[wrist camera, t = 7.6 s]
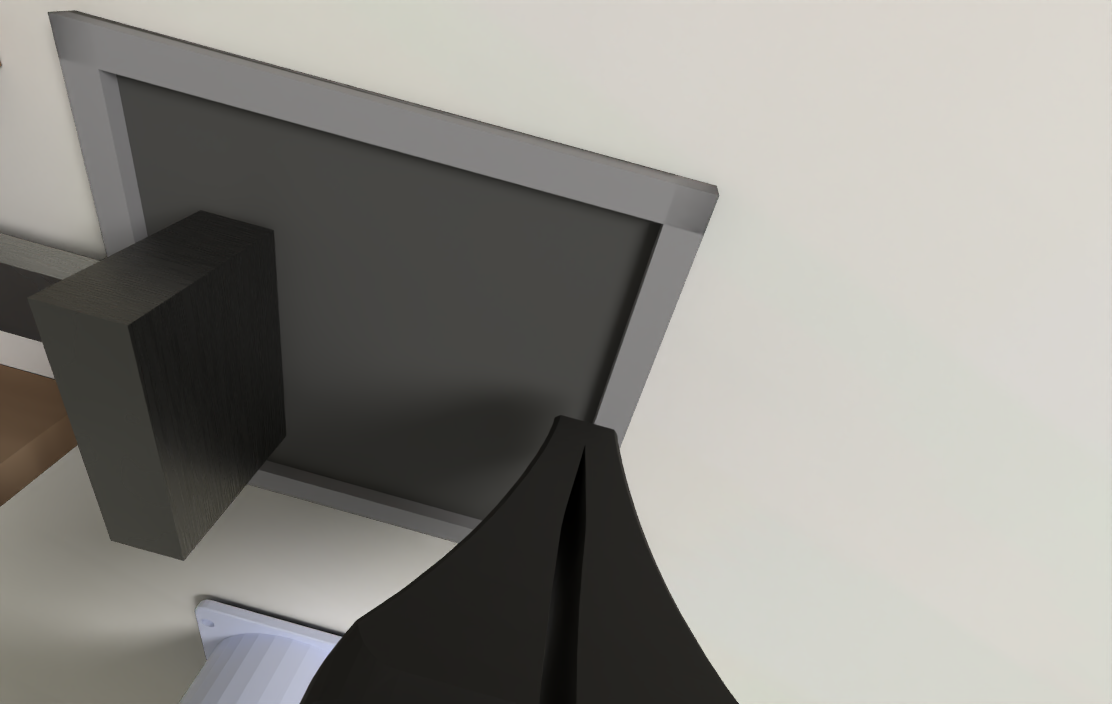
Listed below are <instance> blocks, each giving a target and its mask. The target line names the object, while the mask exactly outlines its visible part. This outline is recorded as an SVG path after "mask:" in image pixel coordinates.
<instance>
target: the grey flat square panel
mask: <svg viewBox="0 0 1112 704" xmlns="http://www.w3.org/2000/svg"><path fill="white" fill-rule="evenodd" d="M48 15H49V19H50V23H51V28H52V32H53V36H54V40H55V44H56V48H57V52H58V56H59V60H60V64H61V69H62V73H63V77H64V81H65V85H66V89H67V93H68V97H69V101H70V106H71V110H72V114H73V118H74V122H75V126H76V130H77V134H78V138H79V142H80V147H81V151H82V155H83V159H84V163H85V167H86V171H87V175H88V179H89V184H90V188H91V192H92V196H93V200H94V204H95V208H96V212H97V216H98V221H99V225H100V229H101V233H102V237H103V241H104V245H105V249H106V253H107V257H109V256H111V255H113V254H115V253H117V252H119V251H121V250H123V249H125V248H126V247H128V246H130V245H132V244H134V243H136V242H138V241H140V240H142V239H144V238H146V237H148V236H150V235H152V234H154V233H156V232H158V231H160V230H162V229H164V228H166V227H168V226H170V225H172V224H174V223H176V222H178V221H180V220H182V219H184V218H186V217H188V216H190V215H192V214H194V213H196V212H198V211H200V210H203V211H206V212H210V213H213V214H217V215H221V216H224V217H228V218H232V219H235V220H239V221H242V222H246V223H250V224H253V225H257V226H261V227H264V228H268V229H271V230H274V239H275V256H276V272H277V288H278V305H279V321H280V338H281V354H282V370H283V387H284V403H285V419H286V437H285V438H284V439H283V441H282V442H281V443H280V444H279V446H278V447H277V448H276V449H275V450H274V452H273V453H272V454H271V455H270V456H269V458H268V459H267V460H266V461H265V463H264V464H263V465H262V466H261V467H260V469H259V470H258V471H257V472H256V474H255V475H254V476H253V477H252V478H251V480H250V481H249V482H248V483H247V484H248V485H252V486H256V487H259V488H263V489H266V490H270V491H273V492H277V493H281V494H284V495H288V496H291V497H295V498H299V499H302V500H306V501H309V502H313V503H316V504H320V505H324V506H327V507H331V508H334V509H338V510H342V511H345V512H349V513H352V514H356V515H359V516H363V517H367V518H370V519H374V520H377V521H381V522H385V523H388V524H392V525H395V526H399V527H402V528H406V529H410V530H413V531H417V532H420V533H424V534H428V535H431V536H435V537H438V538H442V539H445V540H449V541H453V542H456V543H460V542H461V541H462V540H463V539H464V538H465V537H466V536H467V535H468V534H469V533H470V532H471V531H473V530H474V529H475V528H476V527H477V526H478V524H479V523H480V522H481V521H482V520H483V519H484V518H485V517H486V516H487V515H488V514H489V513H490V512H491V511H492V510H493V509H494V508H495V507H496V506H497V504H498V503H499V502H500V501H501V500H502V499H503V497H504V496H505V495H506V494H507V493H508V491H509V490H510V489H511V488H512V487H513V485H514V484H515V483H516V482H517V481H518V479H519V478H520V477H521V475H522V474H523V473H524V471H525V470H526V468H527V467H528V466H529V464H530V463H531V461H532V460H533V458H534V457H535V456H536V454H537V453H538V451H539V449H540V448H541V446H542V444H543V443H544V441H545V439H546V437H547V436H548V434H549V431H550V429H551V427H552V425H553V422H554V418H555V417H557V416H559V415H563V416H567V417H570V418H574V419H578V420H581V421H585V422H589V423H592V424H596V425H600V426H603V427H607V428H611V429H614V430H615V432H616V433H617V436H618V444H619V449H620V446H621V444H622V441H623V439H624V436H625V434H626V431H627V429H628V426H629V423H630V421H631V418H632V416H633V413H634V411H635V408H636V406H637V403H638V401H639V398H640V396H641V393H642V390H643V388H644V385H645V383H646V380H647V378H648V375H649V373H650V370H651V368H652V365H653V362H654V360H655V357H656V355H657V352H658V350H659V347H660V345H661V342H662V340H663V337H664V335H665V332H666V329H667V327H668V324H669V322H670V319H671V317H672V314H673V312H674V309H675V307H676V304H677V302H678V299H679V296H680V294H681V291H682V289H683V286H684V284H685V281H686V279H687V276H688V274H689V271H690V269H691V266H692V263H693V261H694V258H695V256H696V253H697V251H698V248H699V246H700V243H701V241H702V238H703V236H704V233H705V230H706V228H707V225H708V223H709V220H710V218H711V215H712V213H713V210H714V208H715V205H716V203H717V200H718V197H719V193H718V189H717V186H715V185H711V184H708V183H704V182H700V181H697V180H693V179H689V178H686V177H682V176H678V175H675V174H671V173H667V172H664V171H660V170H656V169H653V168H649V167H645V166H642V165H638V164H634V163H631V162H627V161H623V160H620V159H616V158H612V157H609V156H605V155H601V154H598V153H594V152H591V151H587V150H583V149H580V148H576V147H572V146H569V145H565V144H561V143H558V142H554V141H550V140H547V139H543V138H539V137H536V136H532V135H528V134H525V133H521V132H517V131H514V130H510V129H506V128H503V127H499V126H495V125H492V124H488V123H484V122H481V121H477V120H473V119H470V118H466V117H463V116H459V115H455V114H452V113H448V112H444V111H441V110H437V109H433V108H430V107H426V106H422V105H419V104H415V103H411V102H408V101H404V100H400V99H397V98H393V97H389V96H386V95H382V94H378V93H375V92H371V91H367V90H364V89H360V88H356V87H353V86H349V85H346V84H342V83H338V82H335V81H331V80H327V79H324V78H320V77H316V76H313V75H309V74H305V73H302V72H298V71H294V70H291V69H287V68H283V67H280V66H276V65H272V64H269V63H265V62H261V61H258V60H254V59H250V58H247V57H243V56H239V55H236V54H232V53H228V52H225V51H221V50H218V49H214V48H210V47H207V46H203V45H199V44H196V43H192V42H188V41H185V40H181V39H177V38H174V37H170V36H166V35H163V34H159V33H155V32H152V31H148V30H144V29H141V28H137V27H133V26H130V25H126V24H122V23H119V22H115V21H111V20H108V19H104V18H101V17H97V16H93V15H90V14H86V13H82V12H79V11H75V10H74V11H57V12H48Z"/></svg>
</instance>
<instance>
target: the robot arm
mask: <svg viewBox="0 0 1112 704" xmlns="http://www.w3.org/2000/svg"><path fill="white" fill-rule="evenodd" d="M195 614H196V618H197V622H198V626H199V631H200V635H201V639H202V643H203V647H204V651H205V655H206V660H207V661H206V663H205V664H204V666H203V667H202V669H201V670H200V672H199V673H198V675H197V676H196V678H195V679H194V681H193V682H192V684H191V685H190V687H189V688H188V690H187V691H186V693H185V694H184V696H183V697H182V699H181V700H180V702H179V703H178V704H739V703H738V702H737V701H736V699H735V698H734V697H733V695H732V694H731V693H730V691H729V690H728V689H727V687H726V686H725V684H724V683H723V681H722V680H721V678H720V677H719V675H718V674H717V672H716V671H715V669H714V668H713V666H712V665H711V663H710V662H709V660H708V659H707V657H706V655H705V654H704V652H703V650H702V649H701V647H700V645H699V644H698V642H697V640H696V638H695V637H694V635H693V633H692V632H691V630H690V628H689V627H688V625H687V623H686V622H685V620H684V618H683V616H682V615H681V613H680V611H679V609H678V607H677V605H676V604H675V602H674V600H673V598H672V596H671V594H670V592H669V590H668V588H667V586H666V584H665V582H664V580H663V577H662V575H661V573H660V571H659V569H658V567H657V565H656V562H655V560H654V558H653V555H652V553H651V550H650V548H649V546H648V543H647V540H646V538H645V535H644V533H643V530H642V527H641V524H640V522H639V519H638V516H637V513H636V510H635V507H634V503H633V500H632V497H631V494H630V491H629V487H628V484H627V480H626V476H625V472H624V468H623V464H622V459H621V455H620V450H619V444H618V436H617V433H616V432H615V430H614V429H611V428H607V427H603V426H600V425H596V424H592V423H589V422H585V421H581V420H578V419H574V418H570V417H567V416H563V415H559V416H557V417H555V418H554V422H553V425H552V427H551V429H550V431H549V434H548V436H547V437H546V439H545V441H544V443H543V444H542V446H541V448H540V449H539V451H538V453H537V454H536V456H535V457H534V458H533V460H532V461H531V463H530V464H529V466H528V467H527V468H526V470H525V471H524V473H523V474H522V475H521V477H520V478H519V479H518V481H517V482H516V483H515V484H514V485H513V487H512V488H511V489H510V490H509V491H508V493H507V494H506V495H505V496H504V497H503V499H502V500H501V501H500V502H499V503H498V504H497V506H496V507H495V508H494V509H493V510H492V511H491V512H490V513H489V514H488V515H487V516H486V517H485V518H484V519H483V520H482V521H481V522H480V523H479V524H478V526H477V527H476V528H475V529H474V530H473V531H471V532H470V533H469V534H468V535H467V536H466V537H465V538H464V539H463V540H462V541H461V542H460V543H459V544H457V545H456V546H455V547H454V548H453V549H452V550H451V551H450V552H449V553H447V554H446V555H445V556H444V557H443V558H442V559H440V560H439V561H438V562H437V563H436V564H434V565H433V566H432V567H430V568H429V569H428V570H427V571H425V572H424V573H423V574H421V575H420V576H419V577H418V578H416V579H415V580H414V581H413V582H411V583H410V584H409V585H407V586H406V587H405V588H403V589H402V590H401V591H399V592H398V593H396V594H395V595H393V596H392V597H391V598H389V599H388V600H386V601H385V602H383V603H382V604H380V605H379V606H377V607H376V608H374V609H373V610H371V611H370V612H368V613H367V614H365V615H364V616H362V617H361V618H359V619H358V620H356V621H355V623H354V624H353V625H352V626H351V627H350V628H349V630H348V631H347V632H346V633H345V634H344V636H343V637H341V636H337V635H334V634H330V633H327V632H323V631H320V630H316V629H313V628H309V627H305V626H302V625H298V624H295V623H291V622H288V621H284V620H281V619H277V618H273V617H270V616H266V615H263V614H259V613H256V612H252V611H248V610H245V609H241V608H238V607H234V606H231V605H227V604H224V603H220V602H216V601H213V600H202V601H201V602H200V603H199V604H198V606H197V607H196V608H195Z"/></svg>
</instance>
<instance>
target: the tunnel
mask: <svg viewBox="0 0 1112 704" xmlns="http://www.w3.org/2000/svg"><path fill="white" fill-rule="evenodd" d="M0 66H1V63H0ZM77 445H78V444H77V441H76V438H75V435H74V432H73V429H72V426H71V423H70V421H69V418H68V415H67V412H66V409H65V406H64V403H63V400H62V397H61V395H60V392H59V389H58V386H57V383H56V380H54V379H50V378H47V377H43V376H40V375H36V374H32V373H29V372H25V371H22V370H18V369H14V368H11V367H7V366H4V365H0V506H2V505H3V504H4V503H5V502H7V501H8V500H9V499H10V498H12V497H13V496H14V495H15V494H17V493H18V492H19V491H20V490H22V489H23V488H24V487H25V486H27V485H28V484H29V483H30V482H32V481H33V480H34V479H35V478H37V477H38V476H39V475H40V474H42V473H43V472H44V471H46V470H47V469H48V468H49V467H51V466H52V465H53V464H54V463H56V462H57V461H58V460H59V459H61V458H62V457H63V456H64V455H66V454H67V453H68V452H69V451H71V450H72V449H73V448H74V447H76V446H77Z"/></svg>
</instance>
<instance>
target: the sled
mask: <svg viewBox="0 0 1112 704" xmlns="http://www.w3.org/2000/svg"><path fill="white" fill-rule="evenodd" d="M0 330H1V331H4V332H8V333H11V334H15V335H19V336H22V337H26V338H29V339H33V340H37V341H40V342H42V343H43V345H44V348H45V351H46V354H47V357H48V360H49V363H50V366H51V369H52V371H53V374H54V377H55V380H56V383H57V386H58V389H59V392H60V395H61V397H62V400H63V403H64V406H65V409H66V412H67V415H68V418H69V421H70V423H71V426H72V429H73V432H74V435H75V438H76V441H77V444H78V447H79V449H80V452H81V455H82V458H83V461H84V464H85V467H86V470H87V473H88V475H89V478H90V481H91V484H92V487H93V490H94V493H95V496H96V499H97V501H98V504H99V507H100V510H101V513H102V516H103V519H104V522H105V525H106V527H107V530H108V533H109V536H110V539H111V541H115V542H119V543H122V544H126V545H129V546H133V547H136V548H140V549H143V550H147V551H151V552H154V553H158V554H161V555H165V556H168V557H172V558H176V559H179V560H183V561H184V560H185V559H186V558H187V556H188V555H189V554H190V553H191V551H192V550H193V549H194V548H195V547H196V545H197V544H198V543H199V542H200V540H201V539H202V538H203V537H204V536H205V534H206V533H207V532H208V531H209V530H210V528H211V527H212V526H213V525H214V523H215V522H216V521H217V520H218V519H219V517H220V516H221V515H222V514H223V512H224V511H225V510H226V509H227V508H228V506H229V505H230V504H231V503H232V502H233V500H234V499H235V498H236V497H237V495H238V494H239V493H240V492H241V491H242V489H243V488H244V487H245V486H246V484H247V483H248V482H249V481H250V480H251V478H252V477H253V476H254V475H255V474H256V472H257V471H258V470H259V469H260V467H261V466H262V465H263V464H264V463H265V461H266V460H267V459H268V458H269V456H270V455H271V454H272V453H273V452H274V450H275V449H276V448H277V447H278V446H279V444H280V443H281V442H282V441H283V439H284V438H285V437H286V419H285V403H284V387H283V370H282V354H281V338H280V321H279V305H278V288H277V272H276V256H275V239H274V230H271V229H268V228H264V227H261V226H257V225H253V224H250V223H246V222H242V221H239V220H235V219H232V218H228V217H224V216H221V215H217V214H213V213H210V212H206V211H203V210H200V211H198V212H196V213H194V214H192V215H190V216H188V217H186V218H184V219H182V220H180V221H178V222H176V223H174V224H172V225H170V226H168V227H166V228H164V229H162V230H160V231H158V232H156V233H154V234H152V235H150V236H148V237H146V238H144V239H142V240H140V241H138V242H136V243H134V244H132V245H130V246H128V247H126V248H125V249H123V250H121V251H119V252H117V253H115V254H113V255H111V256H109V257H107V258H105V259H103V260H101V261H99V260H95V259H92V258H88V257H84V256H81V255H77V254H74V253H70V252H66V251H63V250H59V249H56V248H52V247H48V246H45V245H41V244H37V243H34V242H30V241H27V240H23V239H19V238H16V237H12V236H9V235H5V234H1V233H0Z"/></svg>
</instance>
